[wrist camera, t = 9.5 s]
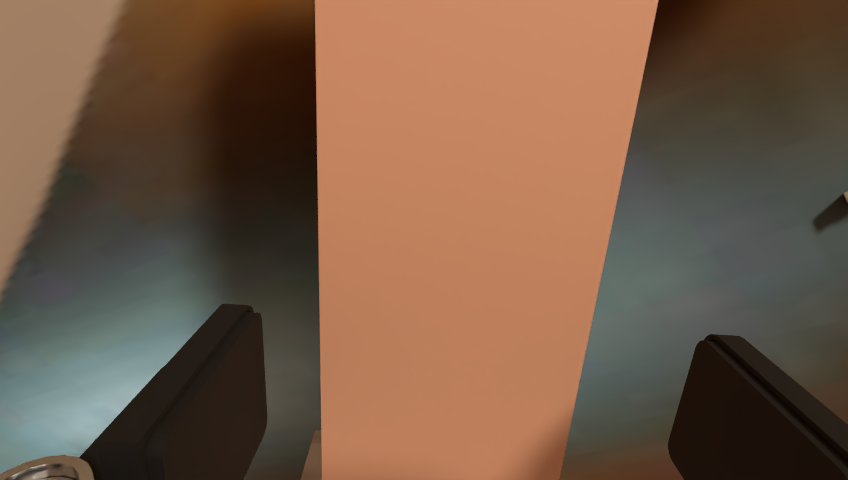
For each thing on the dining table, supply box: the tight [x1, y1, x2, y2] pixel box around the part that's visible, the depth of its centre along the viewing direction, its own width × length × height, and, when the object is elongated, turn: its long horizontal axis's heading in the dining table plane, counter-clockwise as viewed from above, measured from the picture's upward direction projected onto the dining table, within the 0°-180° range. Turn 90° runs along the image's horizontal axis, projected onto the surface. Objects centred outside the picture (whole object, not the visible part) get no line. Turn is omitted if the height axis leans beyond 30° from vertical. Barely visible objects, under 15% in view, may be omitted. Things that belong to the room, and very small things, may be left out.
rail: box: [315, 0, 658, 480], centre depth 14 cm, size 25×6×7 cm, turn 176°
